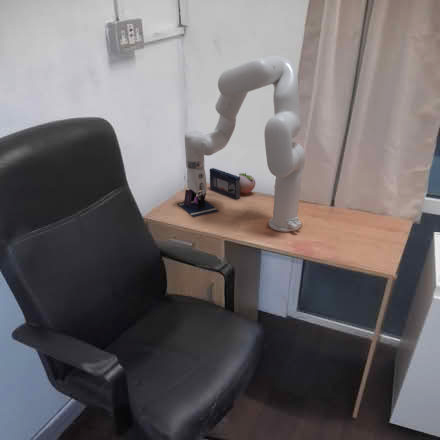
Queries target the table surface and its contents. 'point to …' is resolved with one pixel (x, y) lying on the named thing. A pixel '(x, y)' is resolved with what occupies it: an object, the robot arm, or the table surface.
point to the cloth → (198, 209)
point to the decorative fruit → (246, 183)
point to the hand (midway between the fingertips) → (197, 204)
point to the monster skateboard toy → (190, 198)
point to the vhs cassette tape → (225, 183)
